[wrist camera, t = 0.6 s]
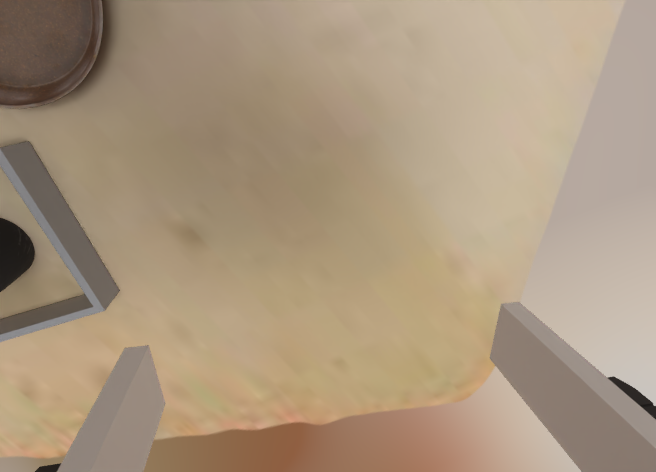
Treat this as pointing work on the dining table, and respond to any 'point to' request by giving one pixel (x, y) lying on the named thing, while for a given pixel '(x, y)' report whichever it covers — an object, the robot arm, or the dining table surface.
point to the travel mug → (13, 253)
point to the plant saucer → (46, 48)
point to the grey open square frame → (55, 246)
